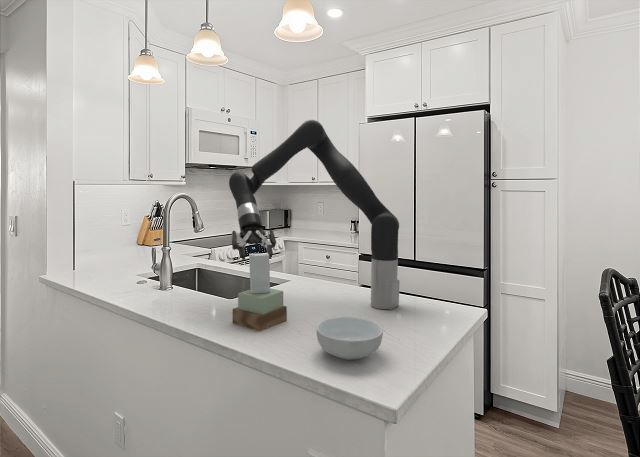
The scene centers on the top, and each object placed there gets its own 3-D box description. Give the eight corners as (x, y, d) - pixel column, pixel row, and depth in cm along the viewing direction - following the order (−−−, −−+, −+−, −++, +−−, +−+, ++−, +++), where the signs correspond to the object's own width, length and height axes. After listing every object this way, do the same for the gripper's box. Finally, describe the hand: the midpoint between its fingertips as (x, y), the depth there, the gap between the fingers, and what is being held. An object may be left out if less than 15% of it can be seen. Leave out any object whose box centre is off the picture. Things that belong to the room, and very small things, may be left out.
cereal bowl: (308, 363, 98) (308, 335, 98) (325, 338, 114) (325, 314, 114) (377, 372, 94) (378, 343, 93) (385, 345, 110) (386, 319, 109)
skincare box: (268, 289, 130) (268, 252, 128) (270, 293, 125) (270, 254, 124) (249, 290, 128) (248, 253, 127) (250, 294, 124) (249, 255, 123)
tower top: (283, 306, 129) (283, 290, 128) (263, 314, 120) (262, 298, 120) (259, 301, 134) (259, 286, 133) (238, 309, 126) (238, 293, 125)
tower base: (286, 321, 129) (286, 306, 128) (260, 332, 119) (260, 316, 119) (259, 314, 136) (259, 300, 135) (232, 324, 126) (232, 308, 126)
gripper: (229, 212, 133) (236, 252, 124) (271, 211, 138) (280, 249, 129) (227, 226, 139) (233, 265, 129) (267, 225, 144) (276, 262, 135)
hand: (257, 257), depth 129 cm, fingers open, 8 cm apart
